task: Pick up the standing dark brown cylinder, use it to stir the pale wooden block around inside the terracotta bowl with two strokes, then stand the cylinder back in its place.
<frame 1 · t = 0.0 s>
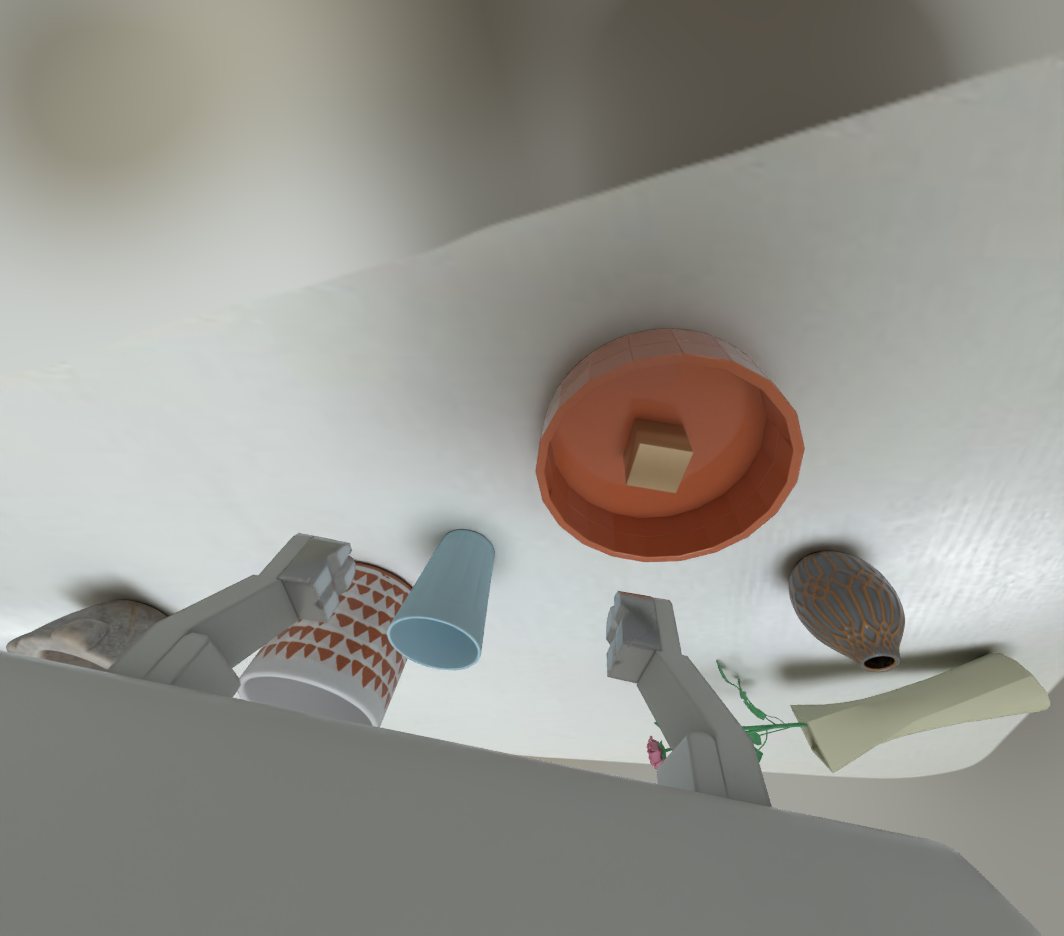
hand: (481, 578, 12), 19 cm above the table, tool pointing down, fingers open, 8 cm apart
flower vase: (798, 666, 43), on the table
cup: (468, 547, 39), on the table
block: (652, 442, 28), point 1 cm above the table, touching bowl
bowl: (651, 438, 29), on the table
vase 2: (371, 596, 47), on the table
mortar: (150, 615, 58), on the table
vase: (819, 564, 34), on the table
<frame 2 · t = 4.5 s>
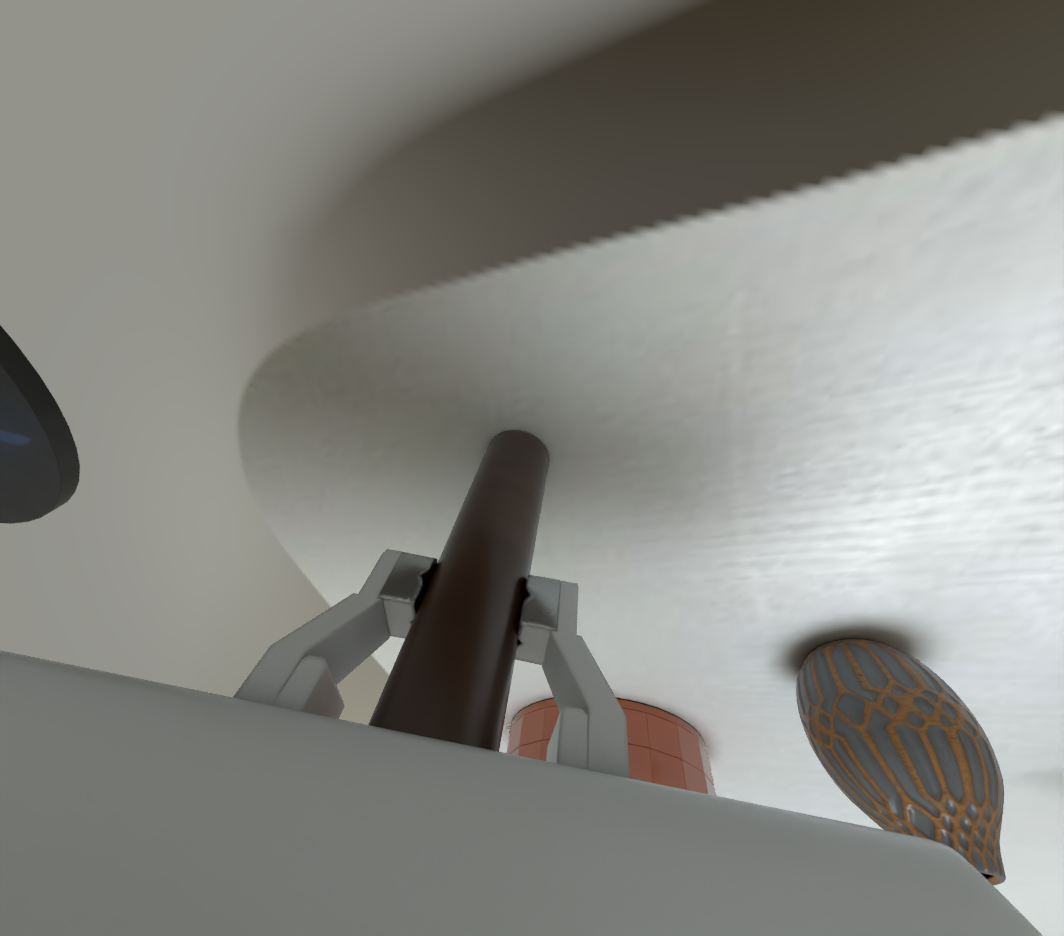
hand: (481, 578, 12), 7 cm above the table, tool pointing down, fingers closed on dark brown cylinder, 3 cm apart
dark brown cylinder: (517, 457, 17), on the table, touching gripper
bowl: (603, 741, 33), on the table
vase: (844, 654, 22), on the table
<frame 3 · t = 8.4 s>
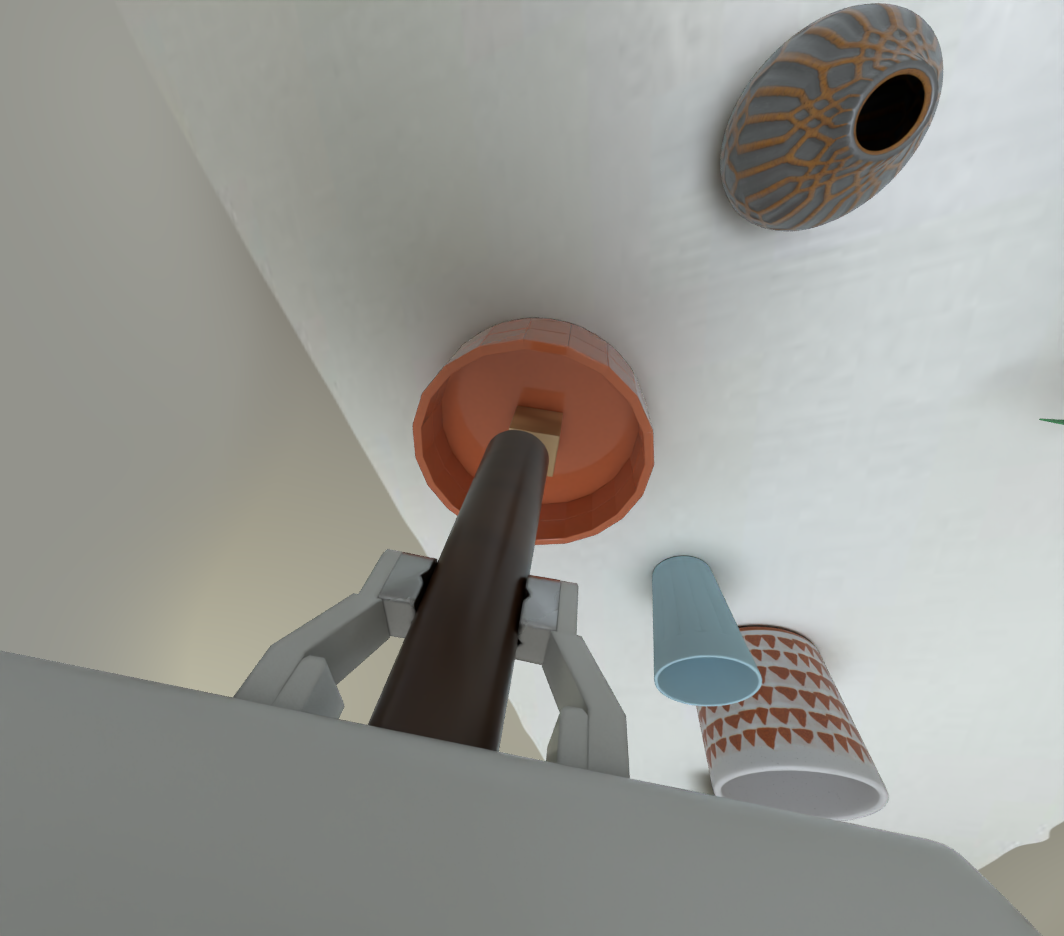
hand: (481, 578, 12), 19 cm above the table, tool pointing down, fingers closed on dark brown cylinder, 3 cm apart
cup: (680, 572, 38), on the table
dark brown cylinder: (517, 456, 17), point 12 cm above the table, touching gripper
block: (537, 428, 30), point 1 cm above the table, touching bowl
bowl: (538, 425, 30), on the table
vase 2: (749, 657, 44), on the table
vase: (778, 144, 19), on the table
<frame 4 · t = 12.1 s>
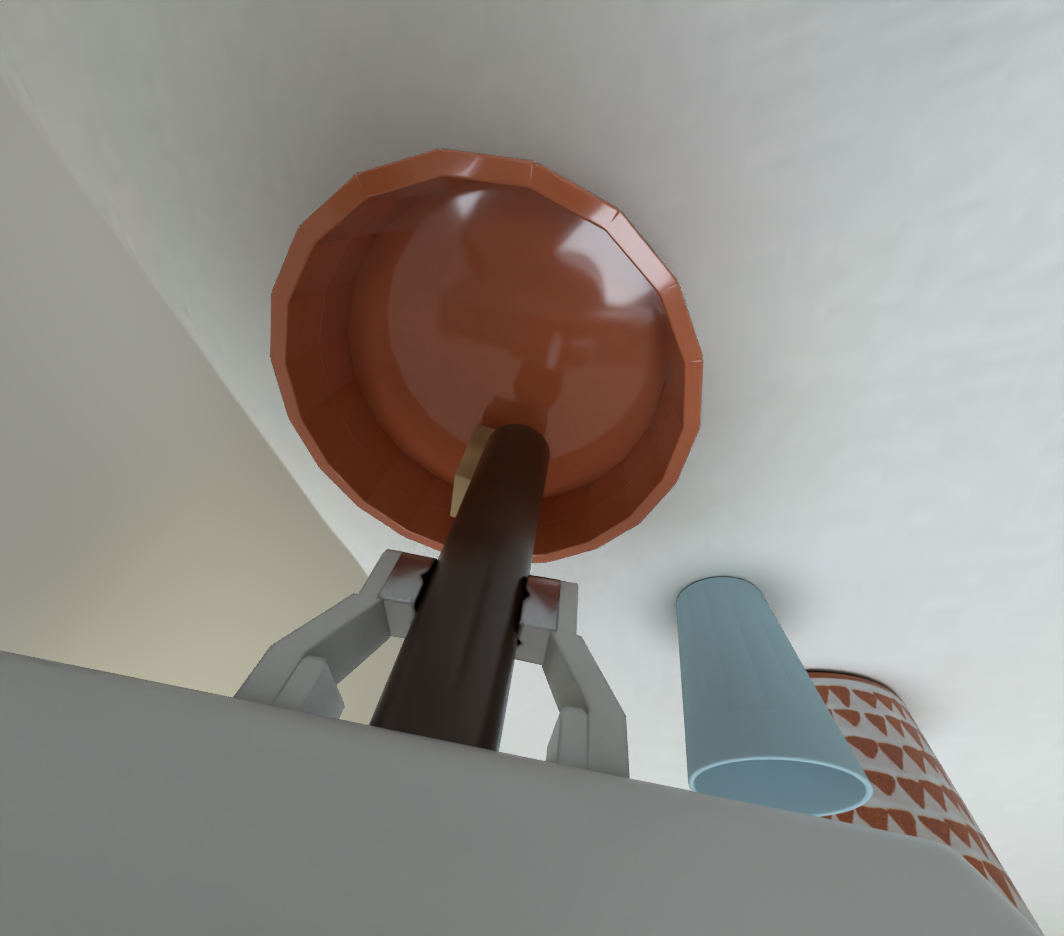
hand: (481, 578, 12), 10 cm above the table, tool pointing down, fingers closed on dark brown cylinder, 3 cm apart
cup: (717, 599, 27), on the table
dark brown cylinder: (518, 450, 17), point 4 cm above the table, touching gripper
block: (504, 455, 20), point 1 cm above the table, tilted 13°, touching bowl
bowl: (503, 373, 19), on the table
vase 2: (802, 708, 33), on the table
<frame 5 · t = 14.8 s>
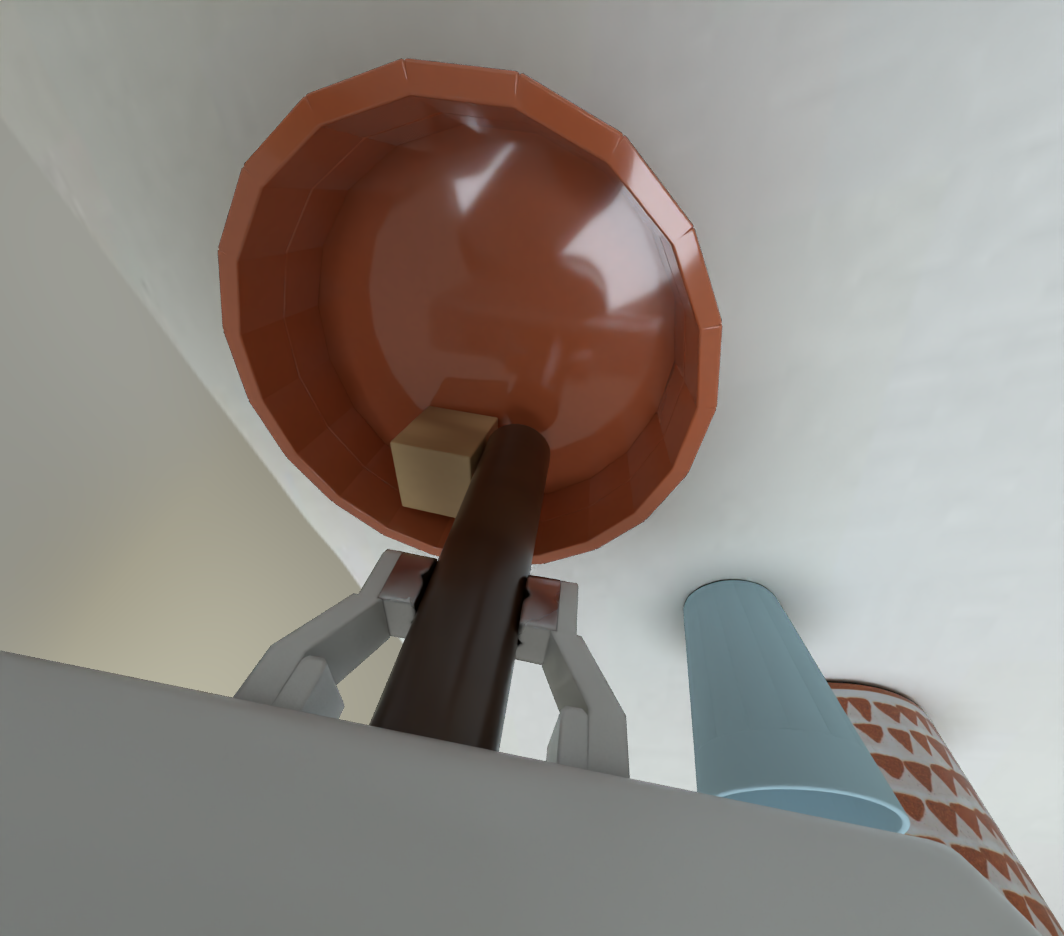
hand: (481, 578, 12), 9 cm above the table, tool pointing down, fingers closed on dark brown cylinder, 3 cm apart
cup: (727, 604, 25), on the table
dark brown cylinder: (518, 450, 17), point 3 cm above the table, touching gripper
block: (464, 442, 19), point 1 cm above the table, tilted 6°, touching bowl
bowl: (493, 354, 17), on the table
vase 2: (817, 719, 31), on the table
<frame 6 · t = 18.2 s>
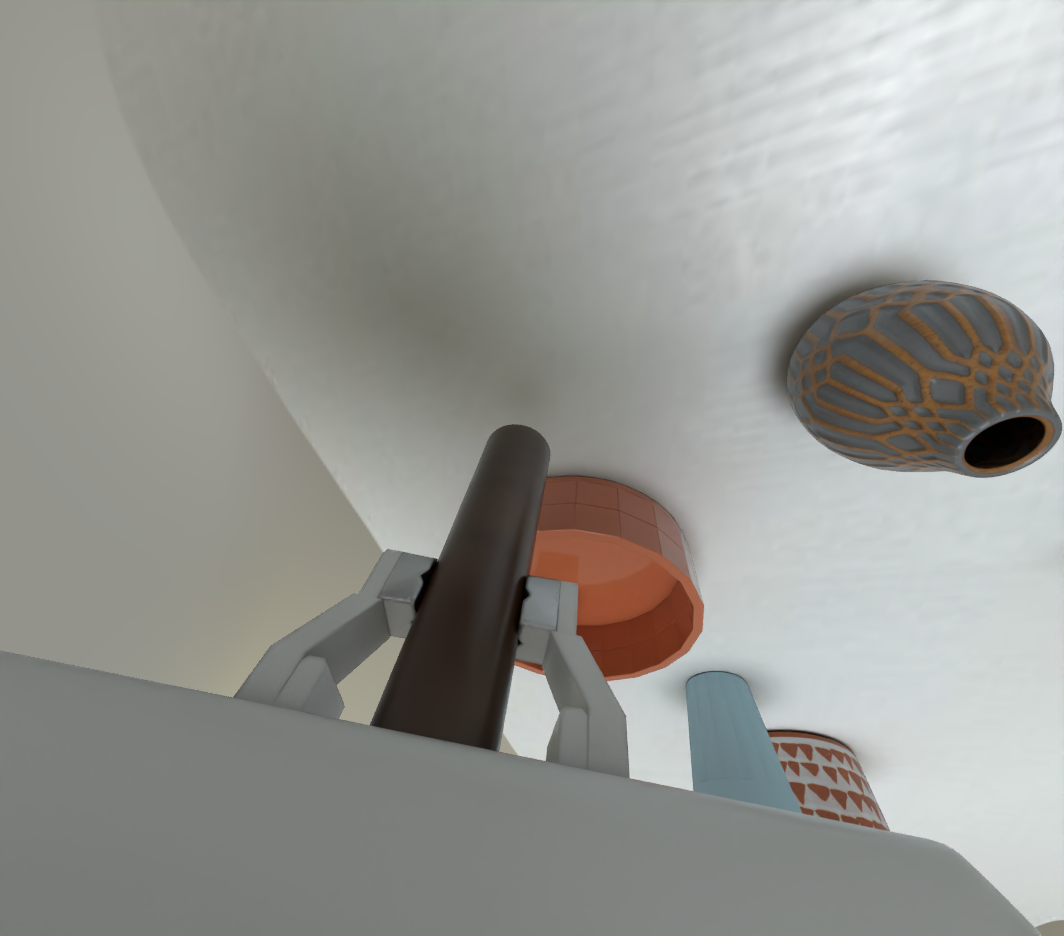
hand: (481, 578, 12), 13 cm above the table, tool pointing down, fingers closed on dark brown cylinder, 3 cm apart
cup: (715, 683, 37), on the table
dark brown cylinder: (518, 451, 17), point 6 cm above the table, touching gripper
bowl: (575, 560, 29), on the table
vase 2: (781, 754, 43), on the table
vase: (845, 347, 18), on the table
when the fingers open (6 cm above the table, at t = 21.0 s): dark brown cylinder stays where it is, on the table.
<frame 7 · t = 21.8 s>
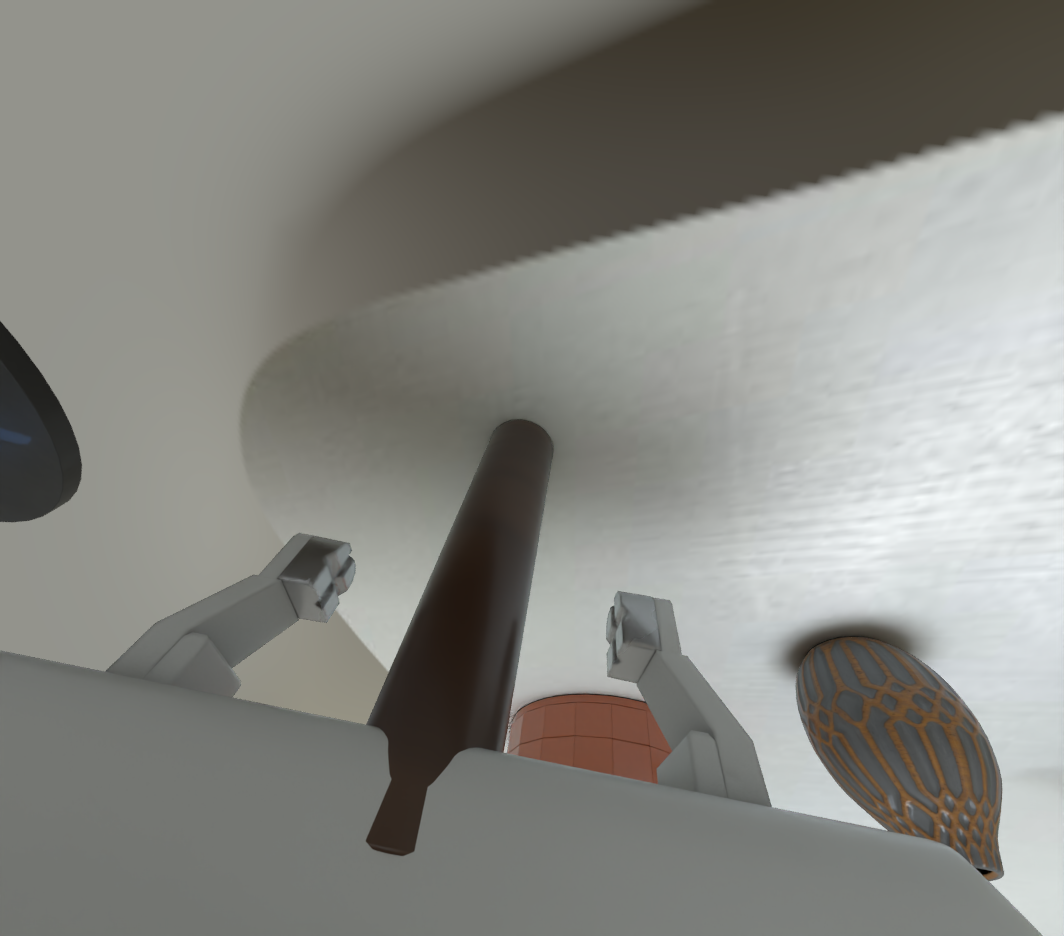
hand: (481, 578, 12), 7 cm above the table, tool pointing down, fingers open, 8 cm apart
dark brown cylinder: (521, 447, 17), on the table
bowl: (604, 739, 33), on the table
vase: (843, 652, 22), on the table
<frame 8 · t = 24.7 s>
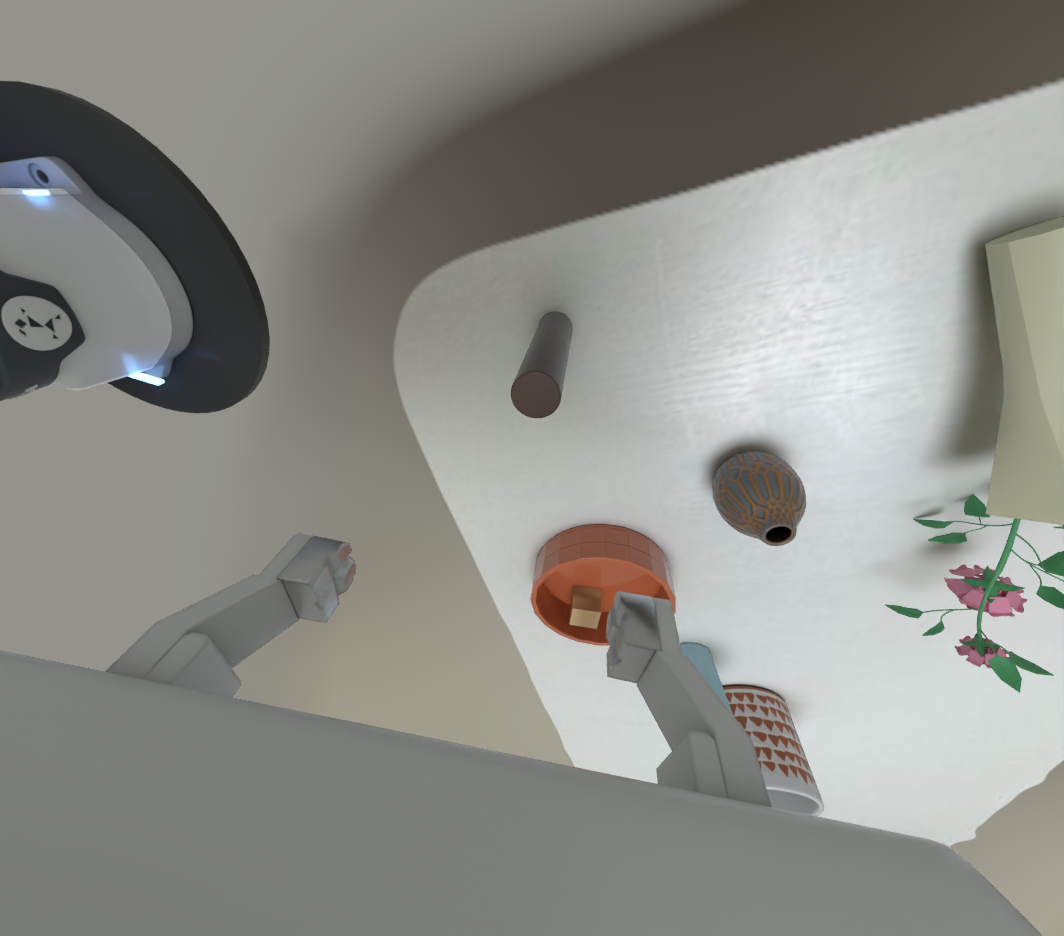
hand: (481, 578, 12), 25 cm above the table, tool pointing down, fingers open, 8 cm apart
flower vase: (963, 441, 33), on the table
cup: (689, 651, 56), on the table
dark brown cylinder: (555, 329, 32), on the table
block: (585, 595, 50), point 1 cm above the table, touching bowl
bowl: (600, 571, 48), on the table
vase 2: (737, 704, 62), on the table
vase: (743, 469, 37), on the table
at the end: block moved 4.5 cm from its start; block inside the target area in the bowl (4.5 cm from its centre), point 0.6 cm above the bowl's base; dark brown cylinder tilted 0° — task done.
